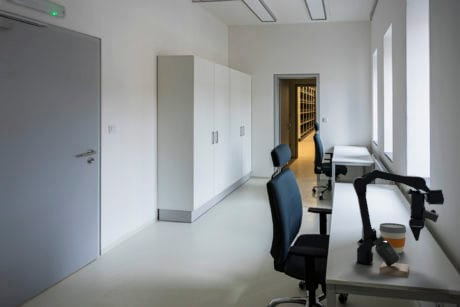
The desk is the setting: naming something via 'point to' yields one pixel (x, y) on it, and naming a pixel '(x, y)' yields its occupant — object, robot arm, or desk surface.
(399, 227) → the reusable coffee cup
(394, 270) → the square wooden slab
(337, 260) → the desk surface
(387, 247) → the supplement bottle
